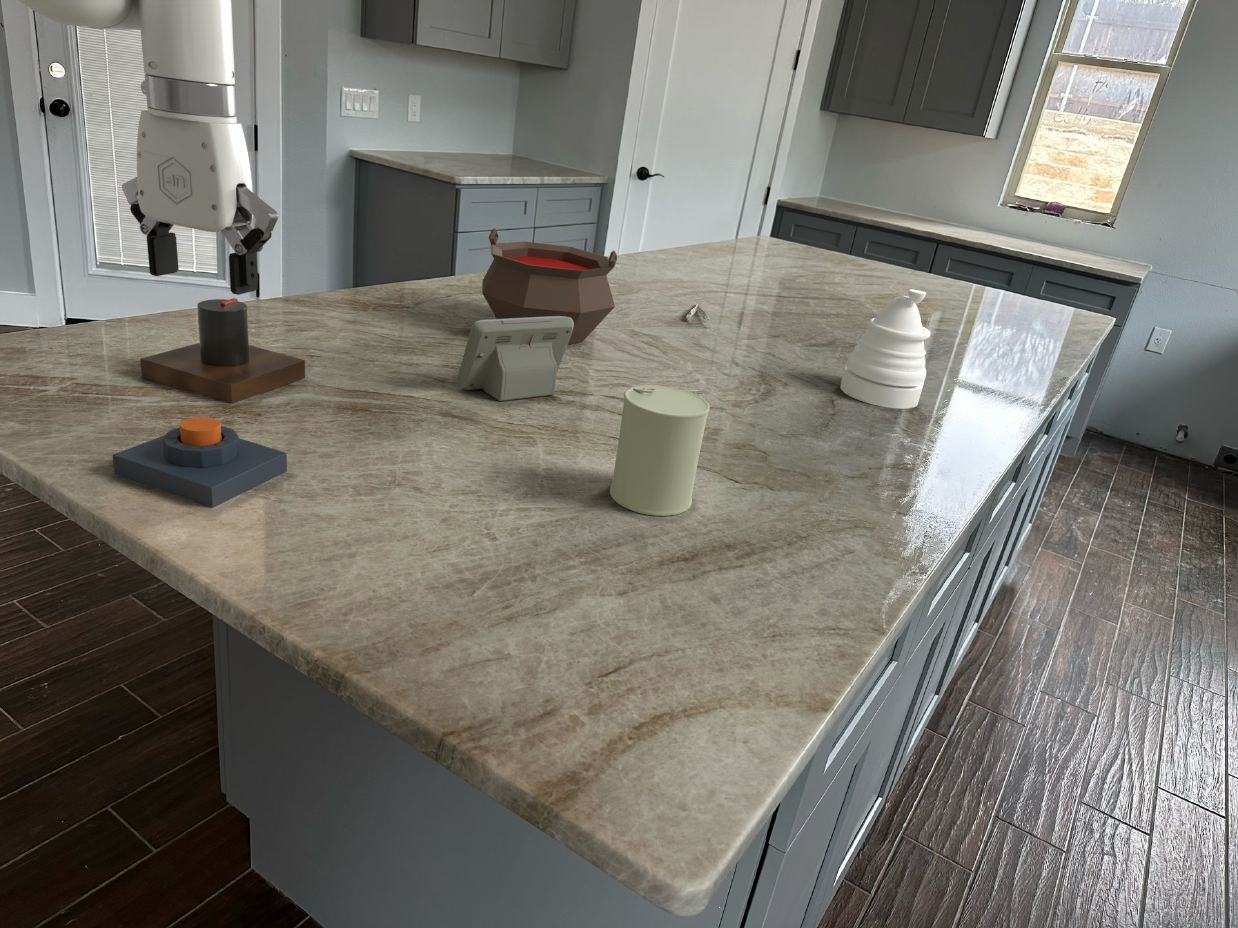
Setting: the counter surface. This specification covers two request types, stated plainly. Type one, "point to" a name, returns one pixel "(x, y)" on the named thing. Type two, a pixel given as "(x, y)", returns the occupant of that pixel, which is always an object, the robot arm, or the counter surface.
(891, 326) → the honey pot
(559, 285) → the brown cauldron
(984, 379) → the counter surface
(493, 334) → the digital clock
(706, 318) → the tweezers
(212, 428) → the alarm button
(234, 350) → the dark grey cylinder
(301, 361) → the swivel stand
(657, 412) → the can
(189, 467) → the alarm button base
